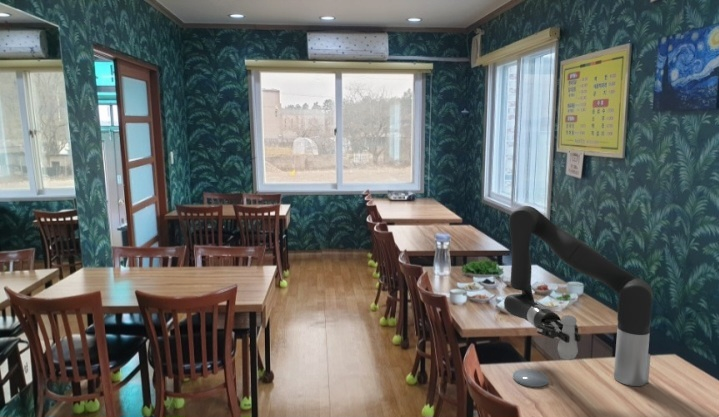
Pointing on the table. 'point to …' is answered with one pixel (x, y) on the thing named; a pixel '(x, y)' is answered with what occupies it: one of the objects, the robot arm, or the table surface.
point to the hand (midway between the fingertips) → (573, 339)
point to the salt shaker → (569, 349)
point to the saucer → (530, 378)
